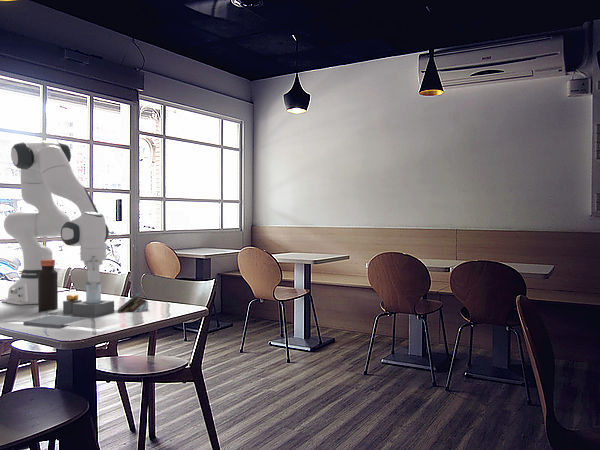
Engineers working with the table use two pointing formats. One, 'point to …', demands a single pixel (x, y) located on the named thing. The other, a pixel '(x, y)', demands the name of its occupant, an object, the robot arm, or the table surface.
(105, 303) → the block
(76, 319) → the mat
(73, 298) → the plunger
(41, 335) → the table surface
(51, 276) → the bottle
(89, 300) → the block
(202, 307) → the table surface
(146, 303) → the chocolate cake
